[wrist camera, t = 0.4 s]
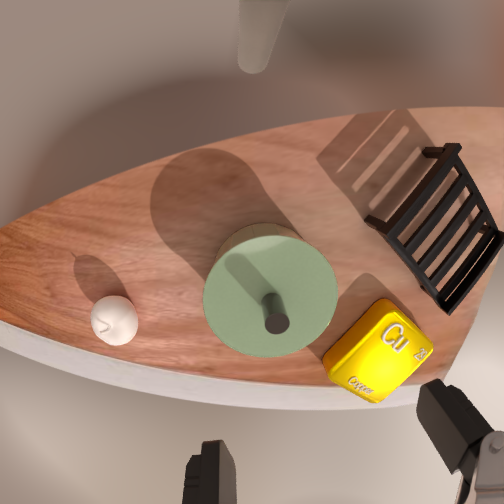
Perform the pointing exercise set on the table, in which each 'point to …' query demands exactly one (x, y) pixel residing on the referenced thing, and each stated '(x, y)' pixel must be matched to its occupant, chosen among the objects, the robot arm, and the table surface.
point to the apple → (114, 320)
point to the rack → (411, 207)
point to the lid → (270, 295)
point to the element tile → (377, 352)
